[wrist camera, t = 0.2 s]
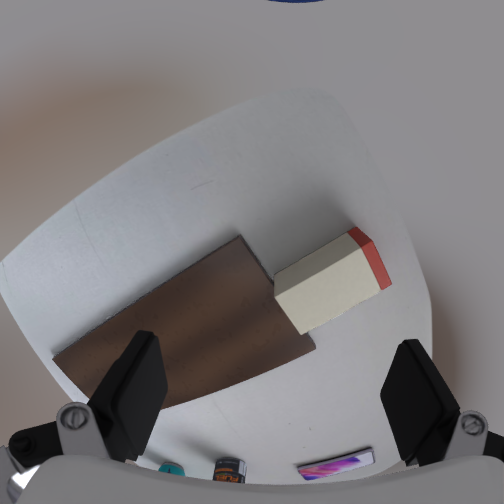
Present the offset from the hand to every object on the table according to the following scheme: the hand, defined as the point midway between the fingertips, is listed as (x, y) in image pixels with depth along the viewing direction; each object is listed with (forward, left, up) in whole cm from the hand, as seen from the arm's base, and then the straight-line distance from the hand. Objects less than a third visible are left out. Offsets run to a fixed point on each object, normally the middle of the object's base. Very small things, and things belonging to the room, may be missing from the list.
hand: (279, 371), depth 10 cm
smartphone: (+46, -13, -20) cm, 52 cm away
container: (+6, +2, -20) cm, 21 cm away
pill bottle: (+34, -30, -20) cm, 50 cm away
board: (+6, -22, -20) cm, 31 cm away
